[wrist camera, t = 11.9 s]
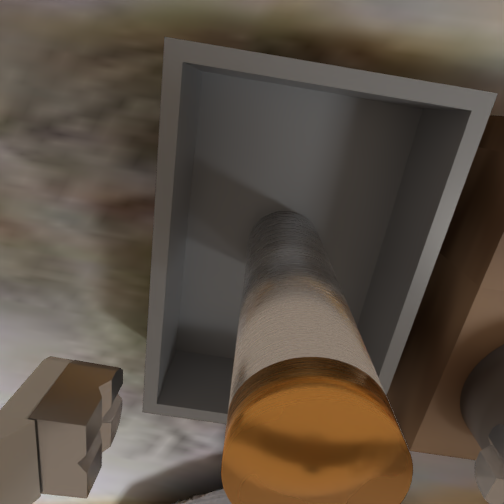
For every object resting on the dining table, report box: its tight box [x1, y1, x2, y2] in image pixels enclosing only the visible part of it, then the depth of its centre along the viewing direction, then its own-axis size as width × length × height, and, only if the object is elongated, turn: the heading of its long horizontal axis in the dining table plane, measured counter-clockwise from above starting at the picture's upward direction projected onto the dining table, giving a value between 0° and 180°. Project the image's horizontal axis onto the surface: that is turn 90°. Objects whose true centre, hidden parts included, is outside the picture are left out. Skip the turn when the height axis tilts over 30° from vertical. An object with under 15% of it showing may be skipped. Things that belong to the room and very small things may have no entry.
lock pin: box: [221, 211, 413, 504], centre depth 12 cm, size 3×3×12 cm
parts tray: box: [143, 37, 498, 424], centre depth 16 cm, size 15×10×4 cm
